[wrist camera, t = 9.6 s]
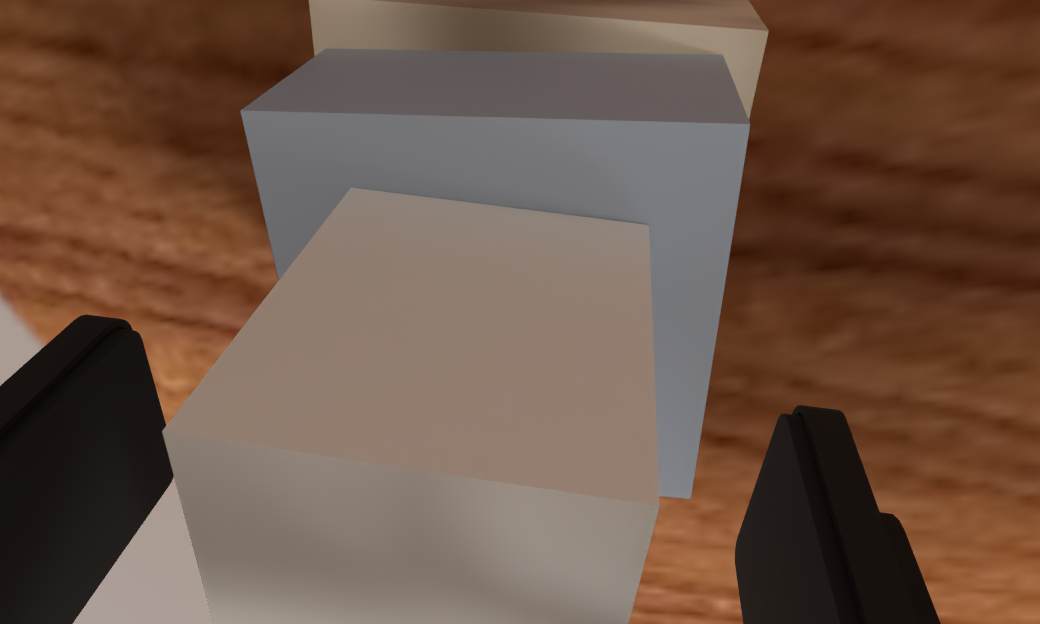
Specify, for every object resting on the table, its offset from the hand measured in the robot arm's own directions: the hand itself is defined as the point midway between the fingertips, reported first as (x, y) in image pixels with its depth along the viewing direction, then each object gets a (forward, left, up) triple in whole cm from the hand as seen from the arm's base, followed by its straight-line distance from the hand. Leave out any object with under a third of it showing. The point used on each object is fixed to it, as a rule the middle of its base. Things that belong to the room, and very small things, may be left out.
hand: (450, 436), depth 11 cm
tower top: (0, 0, -7) cm, 7 cm away
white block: (0, 0, -3) cm, 3 cm away
